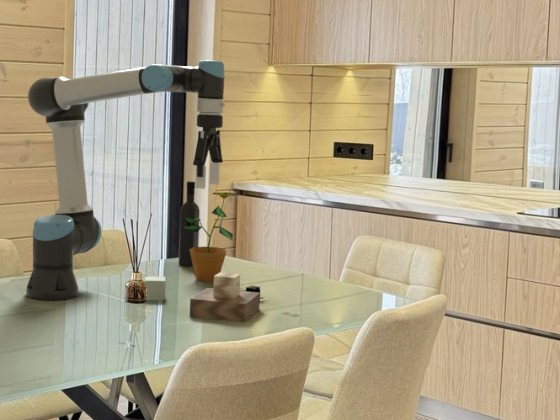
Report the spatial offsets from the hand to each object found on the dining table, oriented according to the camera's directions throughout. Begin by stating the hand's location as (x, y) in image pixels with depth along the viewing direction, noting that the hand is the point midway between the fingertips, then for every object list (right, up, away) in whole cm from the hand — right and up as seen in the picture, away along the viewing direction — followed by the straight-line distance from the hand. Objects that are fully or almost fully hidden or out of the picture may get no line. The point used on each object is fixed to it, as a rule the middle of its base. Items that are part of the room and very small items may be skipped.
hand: (207, 186), depth 283 cm
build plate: (+13, -35, +10) cm, 39 cm away
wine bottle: (-12, -27, +63) cm, 69 cm away
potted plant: (-3, -30, +38) cm, 49 cm away
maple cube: (+6, -31, -9) cm, 33 cm away
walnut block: (+6, -36, -9) cm, 38 cm away
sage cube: (-16, -34, +7) cm, 38 cm away
